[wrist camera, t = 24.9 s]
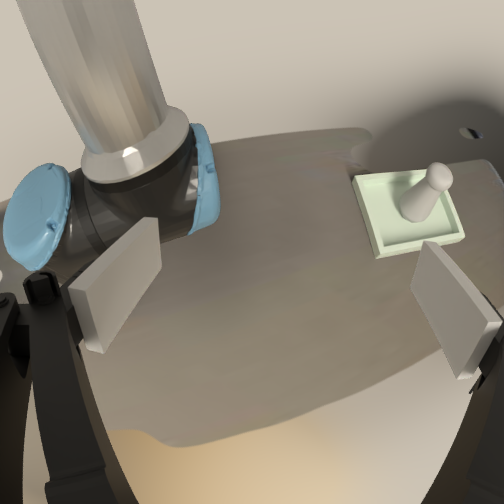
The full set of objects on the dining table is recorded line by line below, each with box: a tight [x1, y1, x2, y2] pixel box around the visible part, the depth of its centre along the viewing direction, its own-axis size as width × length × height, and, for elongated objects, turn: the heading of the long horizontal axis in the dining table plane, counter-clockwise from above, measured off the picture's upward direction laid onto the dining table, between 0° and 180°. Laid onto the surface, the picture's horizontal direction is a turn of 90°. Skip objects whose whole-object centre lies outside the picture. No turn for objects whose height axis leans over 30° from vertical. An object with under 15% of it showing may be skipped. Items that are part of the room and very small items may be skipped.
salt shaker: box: [399, 162, 453, 223], centre depth 43 cm, size 6×6×13 cm
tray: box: [352, 169, 465, 259], centre depth 48 cm, size 18×14×2 cm
